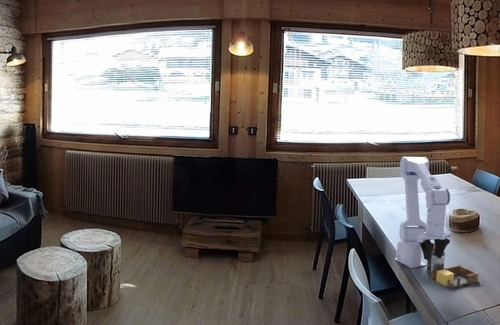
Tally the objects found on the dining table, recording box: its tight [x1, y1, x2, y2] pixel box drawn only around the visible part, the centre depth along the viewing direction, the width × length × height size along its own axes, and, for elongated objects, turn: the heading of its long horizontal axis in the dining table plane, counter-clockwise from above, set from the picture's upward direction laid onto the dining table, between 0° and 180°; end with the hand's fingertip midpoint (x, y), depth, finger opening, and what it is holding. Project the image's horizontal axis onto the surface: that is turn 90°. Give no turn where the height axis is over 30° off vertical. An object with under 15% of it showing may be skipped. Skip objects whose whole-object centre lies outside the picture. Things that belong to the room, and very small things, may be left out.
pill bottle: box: [426, 242, 446, 274], centre depth 150 cm, size 6×6×11 cm
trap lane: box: [430, 264, 480, 290], centre depth 144 cm, size 9×15×3 cm, turn 112°
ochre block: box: [435, 269, 455, 286], centre depth 142 cm, size 4×4×4 cm
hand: (432, 258), depth 138 cm, fingers open, 5 cm apart
